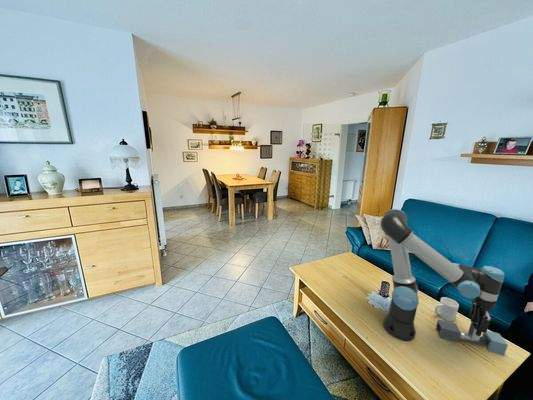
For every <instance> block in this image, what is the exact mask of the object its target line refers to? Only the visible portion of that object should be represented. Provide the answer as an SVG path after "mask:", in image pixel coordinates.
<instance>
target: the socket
mask: <svg viewBox="0 0 533 400" xmlns="http://www.w3.org/2000/svg"><path fill="white" fill-rule="evenodd" d="M481 337H484V338H485V340H486V344H488V346H487V351H488V352H490V353H494V354H498V355H500V356H501V355H502V356H505V354H506V351H507V349H508V346H509V344H508V343H507V342H506V340H505V339H504V337H502V335H501V334H500V333H498V332H494V331H491V330H487V331H486V333H484V332H482V334H481Z"/></svg>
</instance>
